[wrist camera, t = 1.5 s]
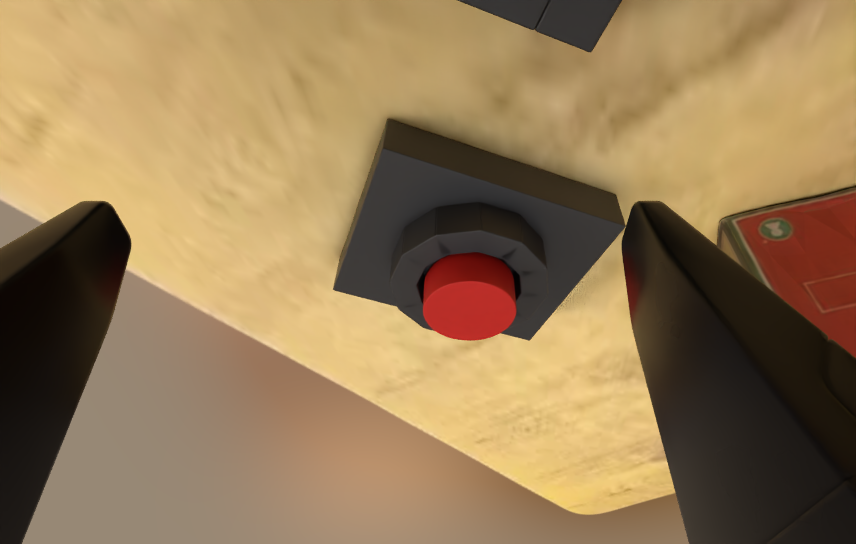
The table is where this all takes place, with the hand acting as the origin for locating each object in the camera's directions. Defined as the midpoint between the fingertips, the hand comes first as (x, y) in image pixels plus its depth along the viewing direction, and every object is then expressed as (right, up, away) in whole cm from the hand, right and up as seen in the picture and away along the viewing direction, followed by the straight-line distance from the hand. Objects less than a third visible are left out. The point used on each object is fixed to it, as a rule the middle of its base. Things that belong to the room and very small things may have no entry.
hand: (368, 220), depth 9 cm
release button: (+3, -1, +15) cm, 15 cm away
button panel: (+3, +1, +18) cm, 18 cm away
